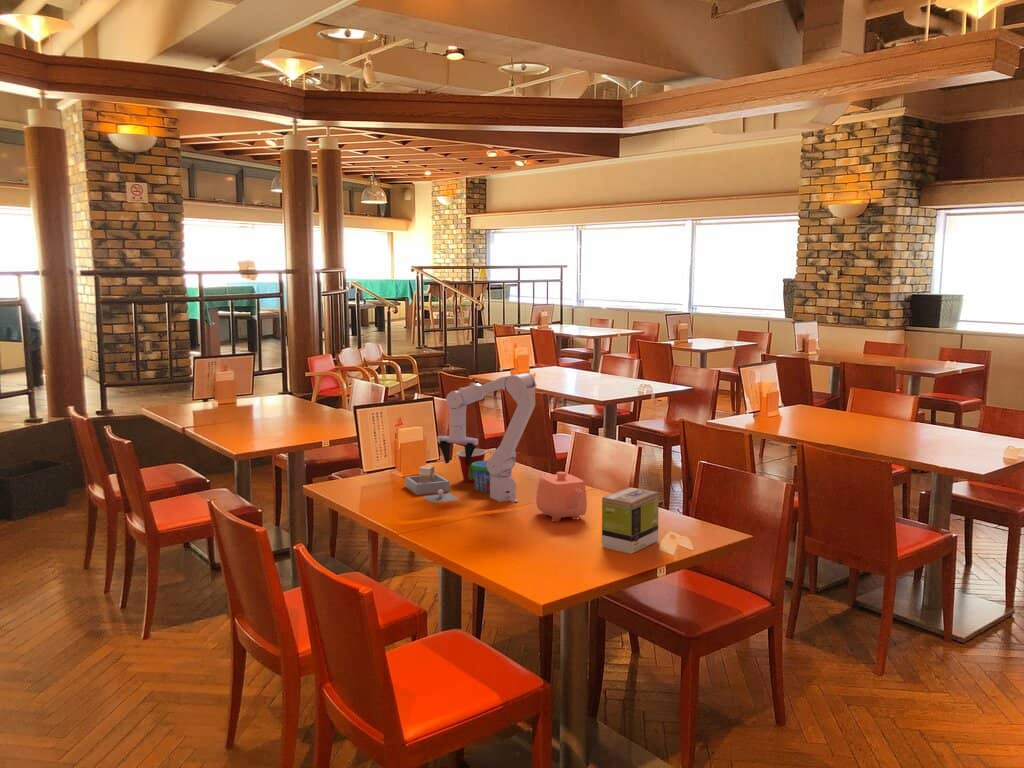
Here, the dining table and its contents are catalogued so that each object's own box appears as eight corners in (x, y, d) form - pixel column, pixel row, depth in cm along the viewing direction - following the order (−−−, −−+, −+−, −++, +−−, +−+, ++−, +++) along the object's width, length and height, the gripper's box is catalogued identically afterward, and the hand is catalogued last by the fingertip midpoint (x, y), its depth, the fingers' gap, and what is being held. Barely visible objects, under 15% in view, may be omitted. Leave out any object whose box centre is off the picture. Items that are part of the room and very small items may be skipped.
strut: (429, 491, 284) (429, 468, 283) (419, 490, 285) (419, 467, 284) (434, 488, 288) (434, 466, 287) (424, 487, 289) (423, 465, 288)
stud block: (460, 502, 273) (460, 491, 272) (431, 506, 268) (431, 494, 268) (448, 495, 282) (448, 484, 281) (421, 498, 277) (421, 487, 277)
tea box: (628, 534, 240) (629, 485, 238) (658, 542, 234) (660, 491, 232) (600, 547, 229) (601, 495, 227) (631, 555, 222) (632, 502, 220)
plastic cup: (454, 480, 304) (454, 448, 302) (483, 479, 306) (483, 447, 304) (458, 487, 293) (458, 454, 292) (488, 486, 295) (488, 453, 294)
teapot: (596, 524, 251) (597, 478, 249) (559, 528, 245) (560, 482, 244) (563, 505, 270) (564, 463, 269) (528, 509, 265) (529, 467, 264)
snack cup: (460, 490, 289) (460, 462, 288) (482, 485, 296) (482, 458, 295) (491, 498, 278) (491, 468, 277) (513, 493, 285) (513, 464, 284)
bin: (449, 493, 284) (449, 481, 283) (416, 497, 279) (416, 484, 278) (437, 486, 295) (437, 473, 294) (405, 489, 289) (405, 476, 289)
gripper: (481, 424, 284) (481, 463, 285) (442, 421, 288) (442, 459, 290) (473, 427, 277) (473, 467, 279) (434, 425, 282) (434, 463, 283)
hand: (457, 463), depth 284 cm, fingers open, 7 cm apart
